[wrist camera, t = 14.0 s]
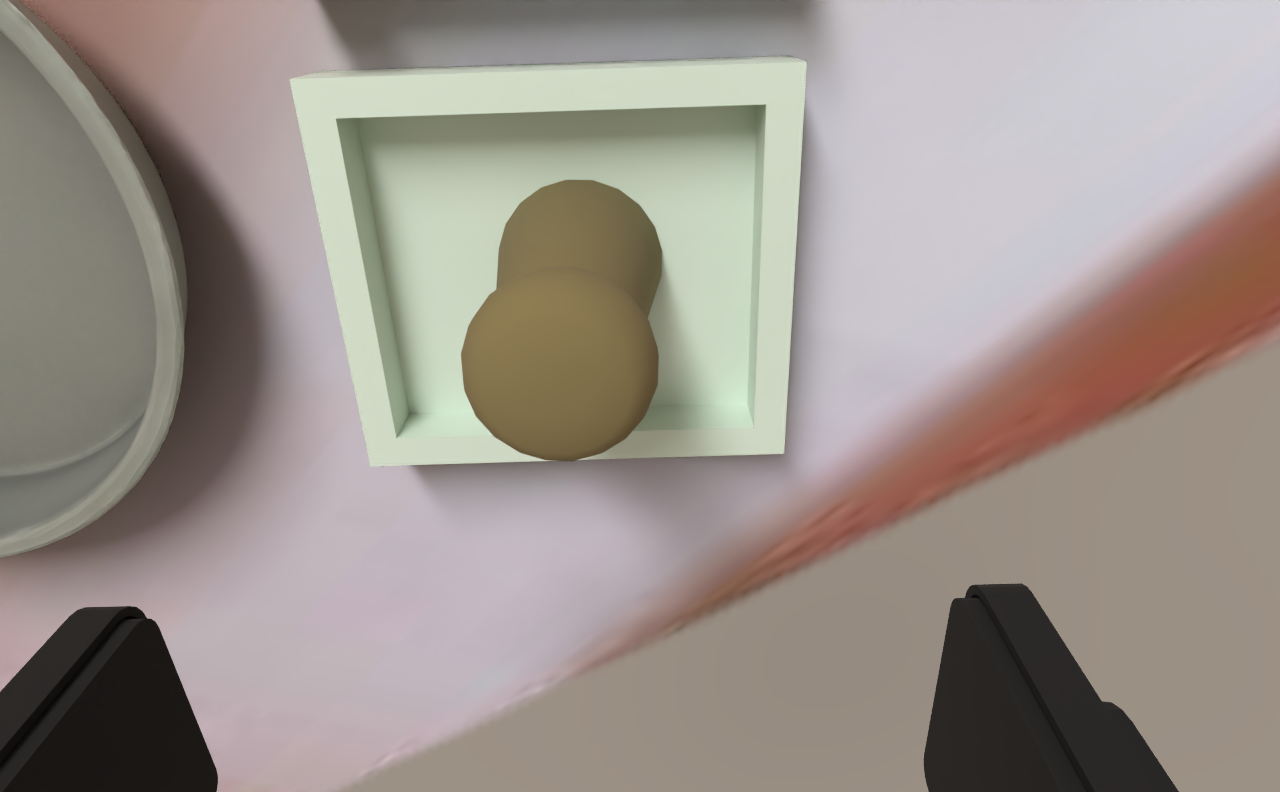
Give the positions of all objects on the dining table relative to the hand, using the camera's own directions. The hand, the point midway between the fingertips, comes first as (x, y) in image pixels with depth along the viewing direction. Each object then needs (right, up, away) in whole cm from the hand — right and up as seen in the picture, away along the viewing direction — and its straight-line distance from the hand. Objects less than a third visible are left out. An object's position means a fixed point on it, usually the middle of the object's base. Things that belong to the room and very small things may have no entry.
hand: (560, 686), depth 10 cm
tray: (-2, +9, +21) cm, 23 cm away
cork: (-1, +9, +20) cm, 22 cm away
